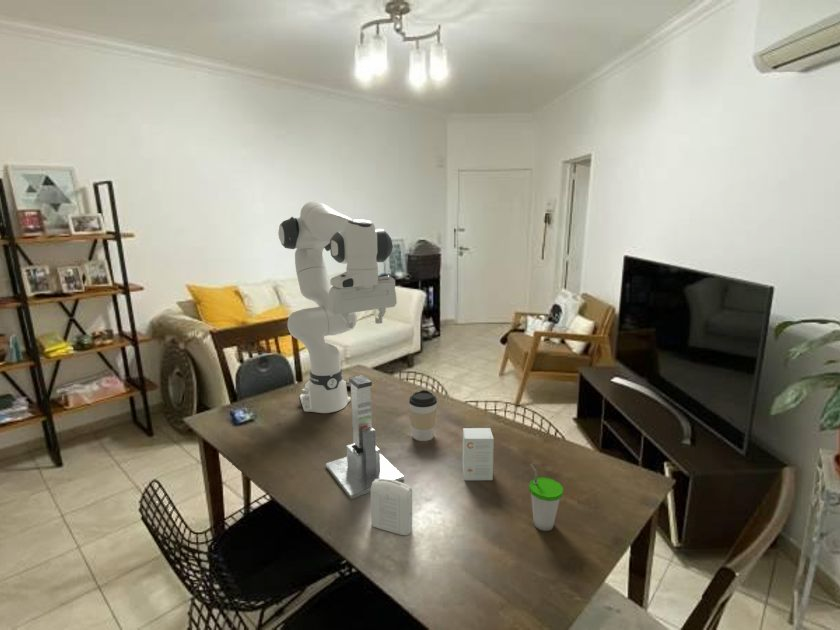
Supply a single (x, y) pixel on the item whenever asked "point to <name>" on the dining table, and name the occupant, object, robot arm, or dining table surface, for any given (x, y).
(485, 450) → the small box
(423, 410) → the coffee cup
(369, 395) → the column
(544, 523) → the cup
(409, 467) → the dining table surface
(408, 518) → the photo printer
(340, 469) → the stand base
